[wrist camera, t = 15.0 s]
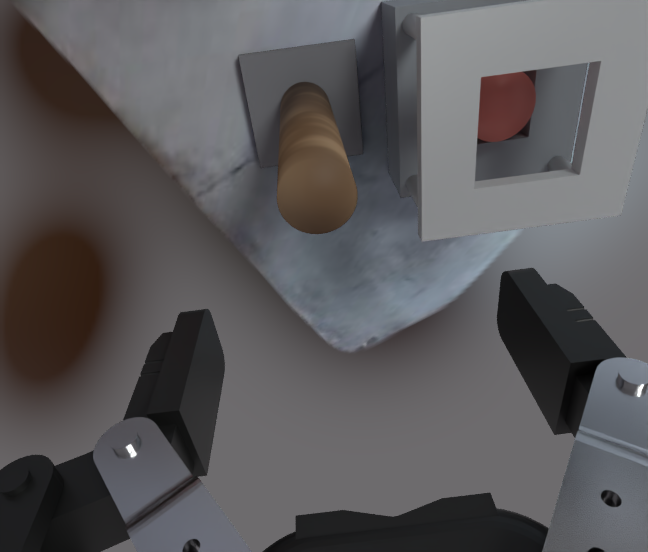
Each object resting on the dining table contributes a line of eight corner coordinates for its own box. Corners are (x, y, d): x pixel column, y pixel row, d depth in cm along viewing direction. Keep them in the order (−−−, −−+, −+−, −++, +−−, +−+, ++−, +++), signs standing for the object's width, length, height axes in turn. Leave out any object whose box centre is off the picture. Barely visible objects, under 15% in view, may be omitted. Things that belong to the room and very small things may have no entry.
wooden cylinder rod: (327, 78, 34) (354, 153, 20) (332, 129, 36) (360, 228, 22) (276, 85, 34) (270, 165, 20) (284, 135, 36) (283, 238, 22)
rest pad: (353, 38, 33) (354, 40, 32) (362, 151, 37) (363, 154, 37) (239, 54, 33) (238, 56, 33) (260, 165, 37) (260, 168, 37)
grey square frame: (561, -24, 32) (679, -18, 22) (537, 152, 38) (621, 215, 29) (381, 1, 32) (420, 17, 22) (388, 172, 38) (421, 241, 29)
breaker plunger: (507, 50, 32) (540, 63, 28) (502, 116, 35) (531, 137, 31) (443, 59, 32) (466, 73, 28) (442, 124, 35) (463, 146, 31)
